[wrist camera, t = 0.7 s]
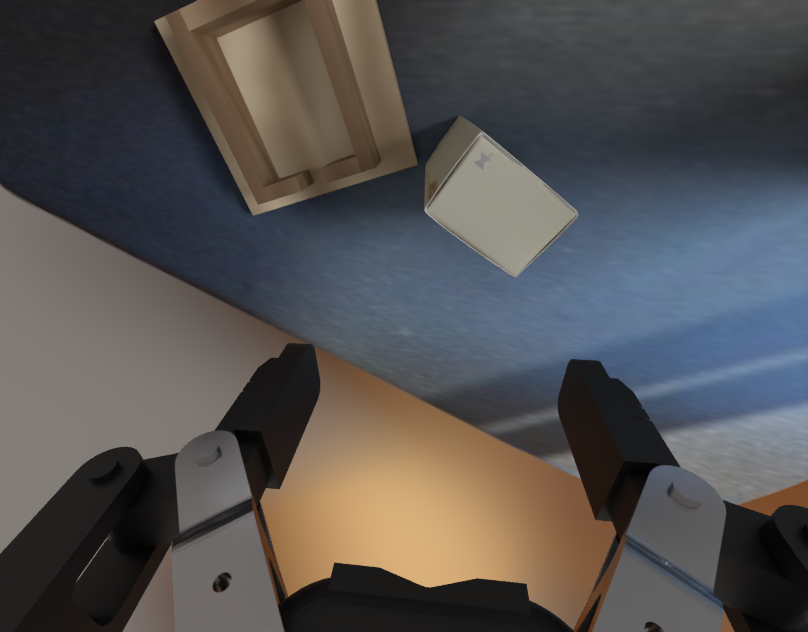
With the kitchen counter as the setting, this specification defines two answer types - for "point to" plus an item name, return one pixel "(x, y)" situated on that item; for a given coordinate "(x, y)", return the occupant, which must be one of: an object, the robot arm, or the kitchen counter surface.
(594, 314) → the kitchen counter surface
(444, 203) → the skincare box
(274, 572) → the robot arm
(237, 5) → the frame
